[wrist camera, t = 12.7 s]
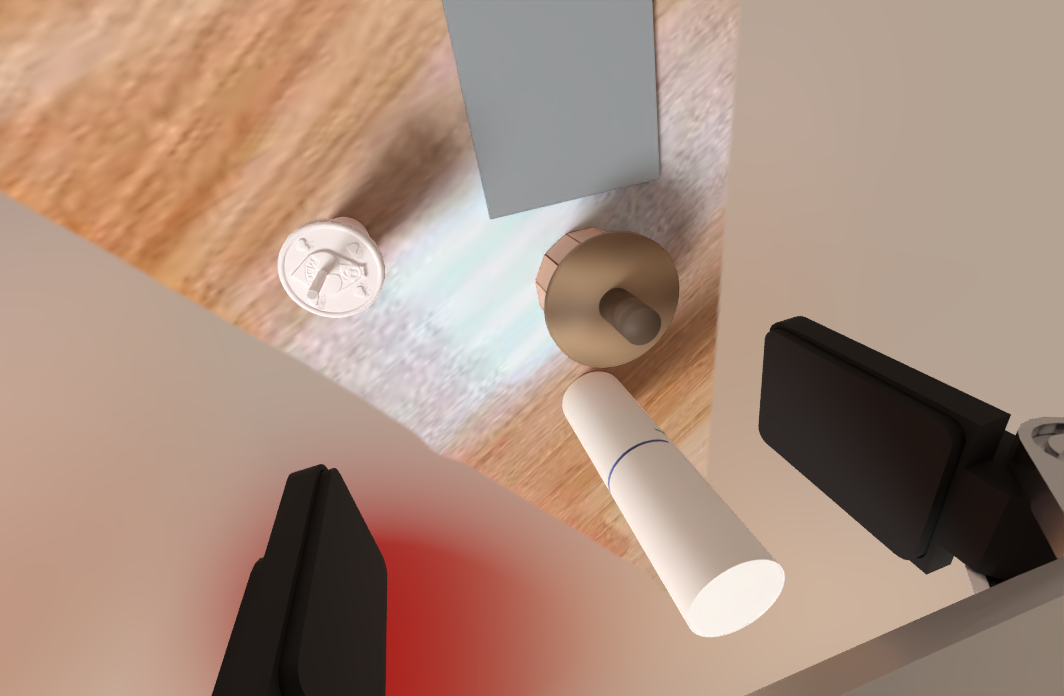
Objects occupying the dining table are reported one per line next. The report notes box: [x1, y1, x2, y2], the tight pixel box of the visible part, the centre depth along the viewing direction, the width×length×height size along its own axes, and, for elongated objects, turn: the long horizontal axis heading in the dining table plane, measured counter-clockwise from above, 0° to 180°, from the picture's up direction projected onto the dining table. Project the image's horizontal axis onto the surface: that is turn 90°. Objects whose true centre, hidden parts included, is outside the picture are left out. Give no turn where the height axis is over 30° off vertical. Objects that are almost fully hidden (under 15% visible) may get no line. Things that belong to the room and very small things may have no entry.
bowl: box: [536, 227, 606, 310], centre depth 42 cm, size 10×10×6 cm
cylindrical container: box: [563, 371, 785, 637], centre depth 41 cm, size 7×7×25 cm
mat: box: [442, 0, 660, 219], centre depth 37 cm, size 16×16×1 cm
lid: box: [544, 231, 679, 368], centre depth 37 cm, size 12×12×6 cm
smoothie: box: [278, 217, 385, 318], centre depth 32 cm, size 6×6×14 cm
